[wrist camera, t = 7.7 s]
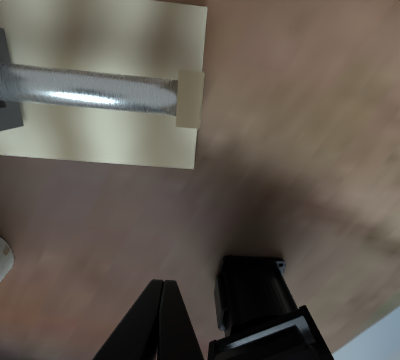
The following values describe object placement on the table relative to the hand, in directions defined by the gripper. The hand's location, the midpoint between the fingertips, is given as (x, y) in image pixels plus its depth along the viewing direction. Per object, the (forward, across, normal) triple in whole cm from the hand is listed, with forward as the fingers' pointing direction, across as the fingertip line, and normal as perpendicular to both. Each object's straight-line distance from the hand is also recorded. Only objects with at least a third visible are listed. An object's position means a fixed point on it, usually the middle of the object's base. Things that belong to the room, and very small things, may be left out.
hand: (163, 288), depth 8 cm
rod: (+9, +8, -6) cm, 14 cm away
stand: (+12, +8, -6) cm, 16 cm away
